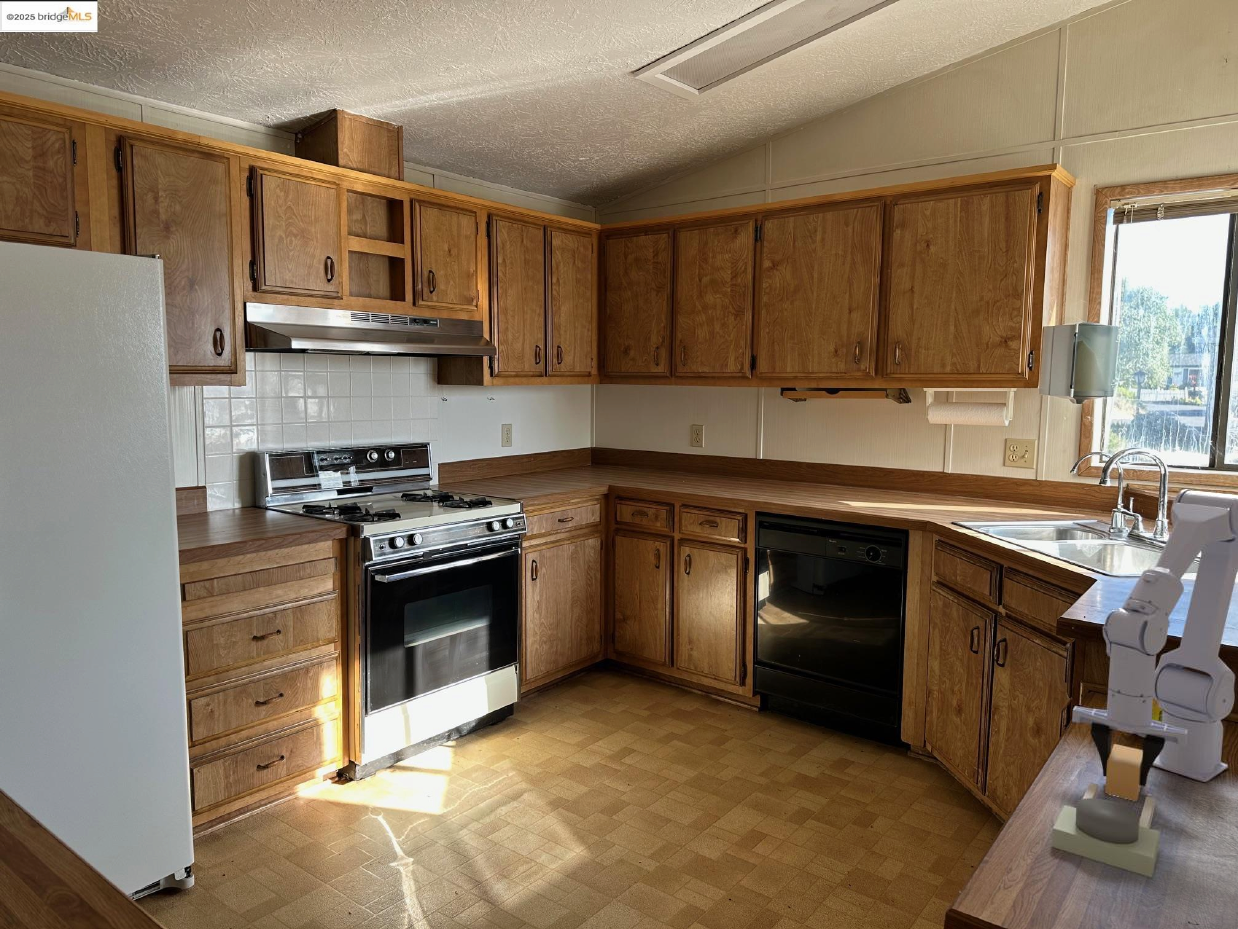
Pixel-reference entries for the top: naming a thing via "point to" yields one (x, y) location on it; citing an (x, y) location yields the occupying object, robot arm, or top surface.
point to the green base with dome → (1109, 833)
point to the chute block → (1124, 772)
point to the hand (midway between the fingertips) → (1124, 779)
